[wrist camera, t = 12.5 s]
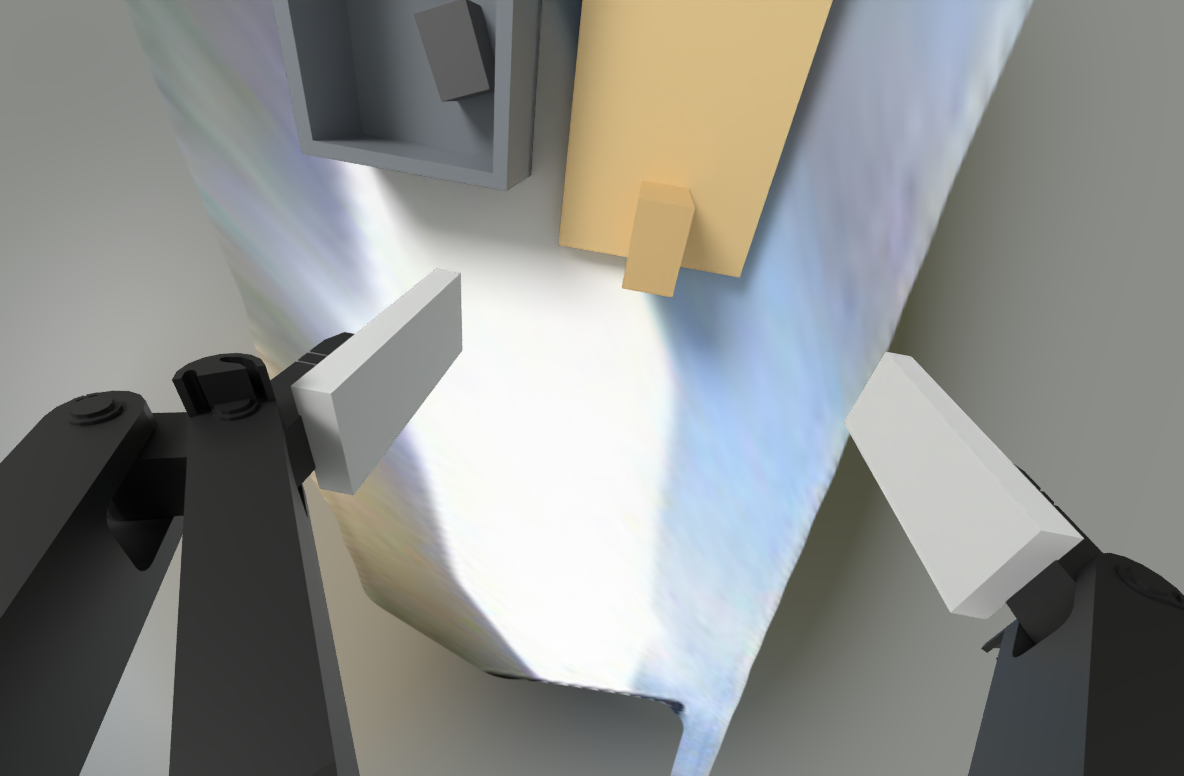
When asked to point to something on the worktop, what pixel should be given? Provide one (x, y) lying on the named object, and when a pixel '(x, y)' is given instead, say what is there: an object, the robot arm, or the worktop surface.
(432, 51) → the rubber block
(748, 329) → the worktop surface
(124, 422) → the robot arm
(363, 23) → the tub
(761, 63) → the lid
